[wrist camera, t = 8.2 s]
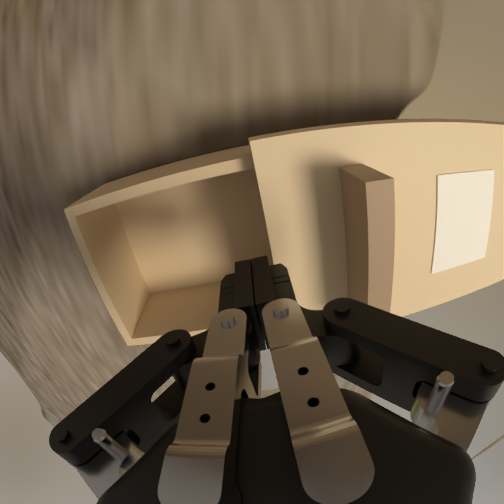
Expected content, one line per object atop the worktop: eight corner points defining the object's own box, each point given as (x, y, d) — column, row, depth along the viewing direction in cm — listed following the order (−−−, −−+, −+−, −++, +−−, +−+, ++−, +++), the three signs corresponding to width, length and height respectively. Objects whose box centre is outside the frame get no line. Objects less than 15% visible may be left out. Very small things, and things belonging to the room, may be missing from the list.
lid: (247, 137, 14) (252, 148, 9) (503, 122, 13) (557, 136, 8) (283, 319, 19) (295, 383, 14) (492, 262, 18) (531, 296, 13)
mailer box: (105, 183, 19) (63, 209, 13) (352, 129, 18) (394, 136, 13) (148, 296, 23) (128, 345, 18) (362, 255, 22) (394, 297, 17)
